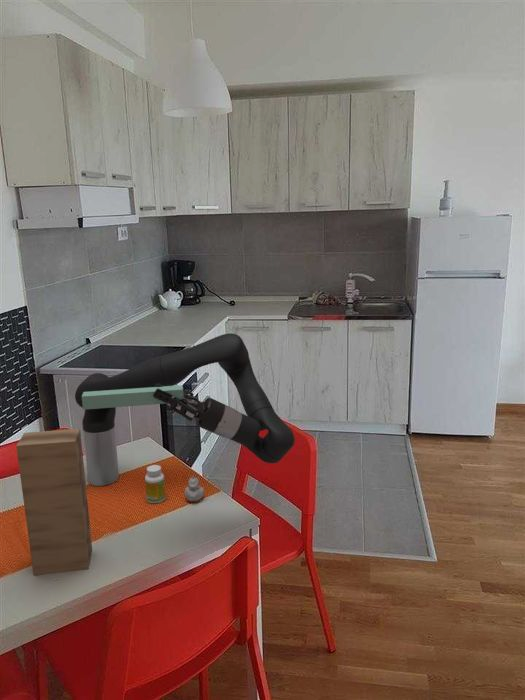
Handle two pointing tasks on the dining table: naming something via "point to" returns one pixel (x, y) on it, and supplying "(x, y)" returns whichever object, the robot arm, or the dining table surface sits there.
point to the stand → (55, 500)
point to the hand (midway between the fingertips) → (155, 389)
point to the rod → (126, 397)
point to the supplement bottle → (154, 484)
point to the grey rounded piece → (194, 490)
